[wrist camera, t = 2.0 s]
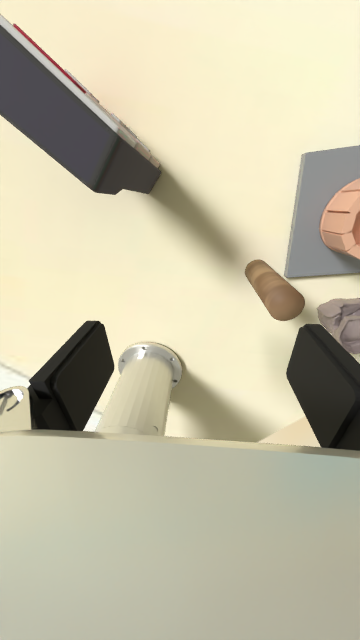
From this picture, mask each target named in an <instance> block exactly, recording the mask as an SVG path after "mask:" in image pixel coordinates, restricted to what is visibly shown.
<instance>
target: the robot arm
mask: <svg viewBox="0 0 360 640" xmlns="http://www.w3.org/2000/svg"><path fill="white" fill-rule="evenodd" d="M118 369H119V372H120V375H121V376H120V378H119V380H118V382H117V384H116V386H115V389H114V391H113V393H112V395H111V397H110V399H109V402H108V404H107V406H106V408H105V410H104V412H103V414H102V417H101V419H100V421H99V423H98V425H97V427H96V429H95V432H88V431H83V429H84V428H85V426H86V424H87V422H88V420H89V418H90V416H91V414H92V412H93V410H94V408H95V406H96V404H97V402H98V400H99V399H100V397H101V395H102V393H103V391H104V389H105V387H106V385H107V383H108V381H109V379H110V377H111V375H112V373H113V371H114V362H113V358H112V354H111V350H110V346H109V343H108V339H107V335H106V331H105V327H104V325H103V324H101V323H100V322H99V321H86V322H85V323H84V324H83V325H82V326H81V327H80V328H79V329H78V330H77V331H76V332H75V333H74V334H73V335H72V336H71V337H70V339H69V340H68V341H67V342H66V343H65V344H64V345H63V346H62V347H61V348H60V349H59V350H58V351H57V352H56V353H55V354H54V355H53V356H52V357H51V358H50V359H49V360H48V361H47V362H46V364H45V365H44V366H43V367H42V368H41V369H40V370H39V371H38V372H37V373H36V374H35V375H34V376H33V377H32V378H31V379H30V380H29V382H30V384H31V385H30V386H29V387H28V388H25V387H23V386H15V387H10V388H7V389H4V390H2V391H0V640H360V364H359V363H358V362H357V361H356V360H355V359H354V358H353V357H352V356H351V355H350V354H349V353H348V352H347V351H346V350H345V349H344V348H343V347H342V346H341V345H340V343H339V342H338V341H337V340H336V339H335V338H334V337H333V336H332V335H331V334H330V333H329V332H328V331H327V330H326V329H325V328H324V327H323V326H322V325H320V324H305V325H304V326H303V327H301V328H300V329H299V332H298V335H297V338H296V341H295V345H294V348H293V351H292V355H291V358H290V361H289V364H288V368H287V372H286V375H287V379H288V381H289V383H290V385H291V387H292V389H293V391H294V393H295V395H296V397H297V399H298V401H299V403H300V405H301V407H302V409H303V411H304V413H305V415H306V417H307V419H308V421H309V423H310V425H311V428H312V429H313V432H314V434H315V436H316V438H317V440H318V441H319V444H320V446H321V447H310V446H309V447H308V446H296V445H282V444H267V443H255V442H241V441H227V440H212V439H197V438H183V437H167V436H164V435H165V428H166V422H167V415H168V409H169V402H170V396H171V389H172V388H174V387H175V386H176V385H177V384H178V383H179V381H180V379H181V376H182V365H181V362H180V360H179V358H178V357H177V355H176V354H175V353H174V352H173V351H171V350H170V349H169V348H167V347H165V346H163V345H160V344H157V343H152V342H140V343H136V344H133V345H131V346H129V347H127V348H126V349H125V350H124V351H123V353H122V354H121V356H120V358H119V362H118Z"/></svg>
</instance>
